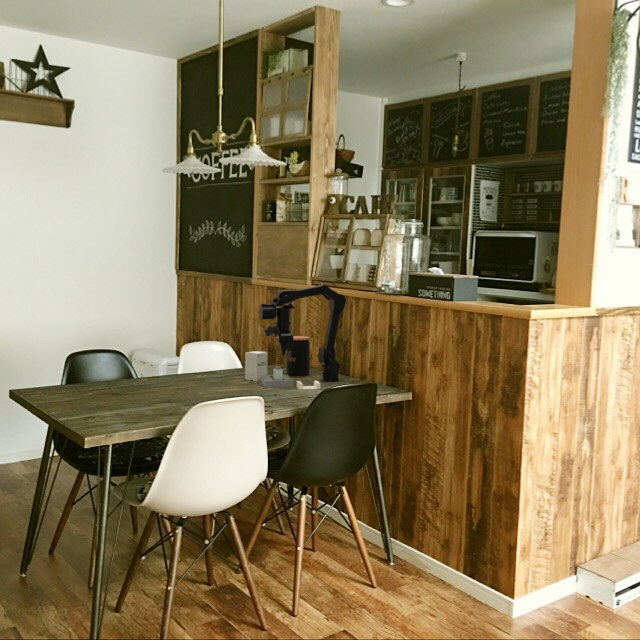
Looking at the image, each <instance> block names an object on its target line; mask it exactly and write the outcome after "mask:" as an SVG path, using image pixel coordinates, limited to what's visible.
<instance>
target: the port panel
mask: <svg viewBox="0 0 640 640" xmlns="http://www.w3.org/2000/svg"><path fill="white" fill-rule="evenodd" d="M260 383H261V384H262V386H263V387H264V388H267V389H268V388H271V389H273V388H276V389H277V388H294V380H293V379H292V376H289V375H288V374H283V380H273V374H267V375H261V380H260Z"/></svg>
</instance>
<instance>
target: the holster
mask: <svg viewBox="0 0 640 640" xmlns="http://www.w3.org/2000/svg"><path fill="white" fill-rule="evenodd" d="M295 384H296V386H295V387H296V388H297V389H298V390H320V389H321V382H320V381H318V380H313V385H304V384H303V382H302V381H300V380H296V381H295Z"/></svg>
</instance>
